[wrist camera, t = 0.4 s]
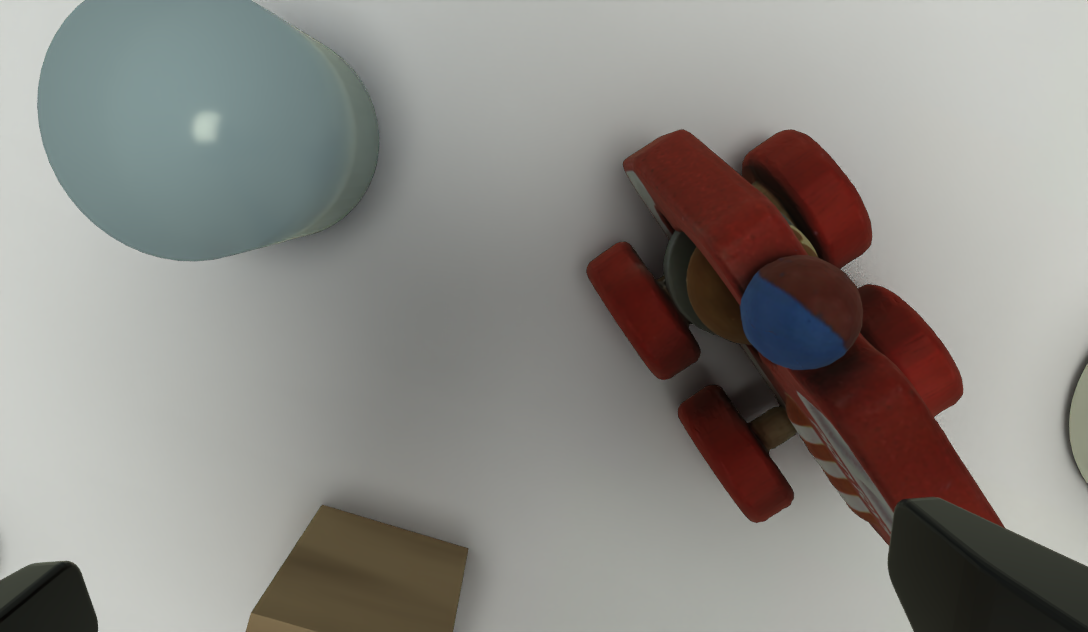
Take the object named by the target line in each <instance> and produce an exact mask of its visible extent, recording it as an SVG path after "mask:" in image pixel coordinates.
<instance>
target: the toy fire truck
mask: <svg viewBox="0 0 1088 632" xmlns="http://www.w3.org/2000/svg"><path fill="white" fill-rule="evenodd" d="M623 167H624V170H625V172H626V174H627V176H628V178H629V180H630V181H631V183H632V185H633V186H634V188H635V189H636V191H637V192H638V194H639V195H640V197H641V198H642V200H643V201H644V203H645V204H646V206H647V207H648V209H649V210H650V212H651V213H652V215H653V216H654V218H655V219H656V221H657V222H658V224H659V225H660V226H661V228H662V229H663V231H664V232H665V234H666V235H667V237H668V239H669V240H670V241H669V243H668V246H667V249H666V253H665V257H664V261H663V268H664V273H663V274H664V276H662V277H661V278H659V279H655V278H654V276H653V274H652V273H651V272H650V271H649V270H648V269H647V267H646V266H645V265H644V263H643V262H642V260H641V259H640V257H639V256H638V254H637V253H636V251H635V250H634V248H633V247H632V246H631V245H630V244H629V243H627V242H619V243H616V244H615V245H613V246H612V247H611V248H609V249H608V250H606V251H605V252H603V253H602V254H600V255H599V256H598V257H596V258H595V259H594V260H592V261H591V262H590V263H589V265H588V266H587V270H586V273H587V275H588V278H589V280H590V281H591V283H592V285H593V286H594V288H595V290H596V291H597V293H598V294H599V296H600V298H601V299H602V301H603V302H604V304H605V306H606V307H607V309H608V310H609V312H610V313H611V315H612V316H613V318H614V319H615V321H616V322H617V324H618V325H619V327H620V328H621V330H622V331H623V333H624V334H625V336H626V337H627V338H628V340H629V341H630V343H631V344H632V346H633V347H634V349H635V350H636V351H637V353H638V354H639V356H640V357H641V359H642V360H643V361H644V363H645V364H646V365H647V367H648V368H649V369H650V371H651V372H652V373H653V374H654V375H655V376H656V377H657V378H658V379H661V380H666V379H670V378H672V377H673V376H675V375H676V374H678V373H679V372H681V371H682V370H684V369H685V368H687V367H688V366H690V365H691V364H693V363H695V362H696V361H697V360H698V359H699V357H700V355H701V350H700V347H699V345H698V343H697V342H696V340H695V338H694V336H693V335H692V333H691V331H690V330H689V324H694V325H696V326H697V327H699V328H701V329H703V330H705V331H707V332H709V333H712V334H714V335H718V336H720V337H722V338H725V339H727V340H729V341H732V342H735V343H740V345H741V346H742V348H743V349H744V351H745V352H746V354H747V355H748V356H749V358H750V359H751V361H752V362H753V364H754V365H755V366H756V368H757V369H758V371H759V372H760V374H761V375H762V377H763V378H764V380H765V381H766V383H767V384H768V385H769V387H770V389H771V391H772V392H773V393H774V395H775V397H776V399H777V401H778V402H779V404H780V406H779V407H774V408H772V409H770V410H768V411H767V412H766V413H764V414H763V415H761V416H759V417H758V418H756V419H754V420H753V421H751V422H750V423H746V422H745V420H744V419H743V417H742V416H741V415H740V413H739V412H738V411H737V409H736V408H735V406H734V405H733V403H732V402H731V400H730V399H729V397H728V396H727V394H726V393H725V392H724V391H723V389H722V388H721V387H719V386H717V385H709V386H706V387H705V388H703V389H702V390H700V391H699V392H697V393H696V394H694V395H693V396H691V397H690V398H688V399H687V400H685V401H684V402H683V403H681V404H680V406H679V408H678V417H679V419H680V421H681V423H682V424H683V426H684V428H685V430H686V431H687V433H688V434H689V436H690V437H691V439H692V440H693V442H694V444H695V445H696V447H697V448H698V450H699V451H700V453H701V454H702V456H703V457H704V459H705V460H706V462H707V463H708V464H709V466H710V468H711V469H712V471H713V472H714V474H715V475H716V476H717V478H718V479H719V481H720V482H721V484H722V485H723V486H724V488H725V489H726V491H727V492H728V493H729V495H730V496H731V498H732V499H733V500H734V502H735V503H736V504H737V506H738V507H739V508H740V510H741V511H742V512H743V514H744V515H745V516H746V517H747V518H748V519H749V520H750V521H752V522H754V523H758V522H763V521H766V520H767V519H768V518H770V517H771V516H773V515H775V514H776V513H778V512H780V511H781V510H782V509H784V508H786V507H788V506H789V505H791V502H792V500H793V499H794V492H793V489H792V488H791V486H790V485H789V483H788V482H787V480H786V479H785V477H784V476H783V474H782V473H781V471H780V470H779V469H778V467H777V466H776V464H775V463H774V462H773V460H772V459H771V458H770V456H769V450H770V449H773V448H776V447H777V446H779V445H780V444H782V443H784V442H785V441H787V440H788V439H789V438H791V437H792V436H794V435H795V434H796V432H798V434H799V435H800V437H801V438H802V440H803V441H804V443H805V444H806V446H807V448H808V450H809V451H810V453H811V454H812V455H813V456H814V458H815V459H816V461H817V462H818V463H819V465H820V466H821V467H822V469H823V471H824V472H825V474H826V475H827V477H828V479H829V480H830V482H831V483H832V485H833V486H834V487H835V488H836V490H837V491H838V492H839V494H840V495H841V497H842V498H843V499H844V501H845V502H846V504H847V505H848V507H849V508H850V509H851V510H852V511H853V512H854V513H855V514H856V515H858V516H859V517H860V518H862V519H864V520H865V521H868V522H869V523H870V524H871V526H872V527H873V528H874V529H875V530H876V531H877V533H878V534H879V535H880V536H881V537H882V538H883V539H884V541H885V542H886V543H887V544H888V545H890V537H891V529H892V522H893V514H894V509H895V507H896V505H897V503H898V502H899V501H901V500H902V499H909V498H922V497H938V498H941V499H943V500H946V501H948V502H950V503H952V504H954V505H956V506H958V507H961V508H963V509H965V510H967V511H969V512H971V513H973V514H976V515H978V516H980V517H982V518H984V519H986V520H988V521H991V522H993V523H995V524H997V525H999V526H1001V527H1003V528H1005V527H1004V525H1003V524H1002V522H1001V521H1000V519H999V517H998V516H997V514H996V513H995V511H994V510H993V508H992V507H991V505H990V504H989V502H988V501H987V499H986V497H985V496H984V494H983V493H982V491H981V490H980V488H979V487H978V485H977V483H976V482H975V480H974V479H973V477H972V476H971V474H970V473H969V471H968V470H967V468H966V467H965V465H964V464H963V462H962V460H961V459H960V457H959V456H958V454H957V453H956V451H955V450H954V448H953V446H952V445H951V443H950V442H949V440H948V438H947V436H946V435H945V433H944V431H943V430H942V429H941V427H940V426H939V424H938V422H937V421H936V420H935V419H934V417H935V416H936V415H937V414H939V413H940V412H942V411H943V410H945V409H947V408H948V407H950V406H952V405H954V404H956V402H957V401H958V400H959V399H960V398H961V396H962V395H963V383H962V378H961V375H960V372H959V370H958V368H957V366H956V364H955V362H954V360H953V358H952V357H951V355H950V354H949V352H948V350H947V349H946V347H945V346H944V344H943V343H942V342H941V340H940V339H939V338H938V337H937V335H936V334H935V332H934V331H933V330H932V329H931V328H930V327H929V325H928V324H927V323H926V322H925V321H924V320H923V319H922V317H921V316H920V315H919V314H918V313H917V312H916V311H915V310H914V309H913V308H911V307H910V306H909V305H908V304H907V303H906V302H905V301H903V300H902V299H901V298H900V297H899V296H897V295H896V294H895V293H893V292H891V291H889V290H888V289H886V288H884V287H881V286H877V285H871V284H867V285H864V286H862V287H859V288H858V289H857V287H856V285H855V284H854V283H853V282H852V281H851V280H850V278H849V277H848V276H847V274H846V273H844V272H843V271H842V270H841V268H842V267H843V266H845V265H846V264H848V263H849V262H851V261H852V260H854V259H856V258H857V257H859V256H861V255H862V254H863V253H864V252H865V251H866V250H867V249H868V248H869V247H870V245H871V241H872V228H871V222H870V219H869V216H868V213H867V210H866V208H865V206H864V204H863V201H862V199H861V197H860V195H859V194H858V192H857V190H856V188H855V187H854V185H853V184H852V183H851V182H850V180H849V179H848V177H847V176H846V175H845V173H844V172H843V171H842V170H841V169H840V167H839V166H838V165H837V164H836V162H835V161H834V160H833V159H832V158H831V156H830V155H829V154H828V153H827V152H826V151H825V150H824V149H823V148H821V146H820V145H819V144H818V143H817V142H815V141H814V140H813V139H812V138H811V137H809V136H808V135H806V134H804V133H801V132H798V131H795V130H784V131H781V132H778V133H776V134H775V135H773V136H772V137H770V138H769V139H767V140H766V141H764V142H763V143H761V144H760V145H759V146H757V147H756V148H754V149H753V150H751V151H750V152H749V153H748V154H747V155H746V156H745V158H744V160H743V164H742V176H743V177H742V176H741V175H740V174H739V173H737V172H736V171H735V170H734V169H733V168H731V167H730V166H729V165H728V164H727V163H726V162H724V161H723V160H722V159H721V158H720V157H718V156H717V155H716V154H715V153H714V152H713V151H711V150H710V149H709V148H708V147H707V146H706V145H704V144H703V143H702V142H701V141H700V140H699V139H697V138H696V137H695V136H694V135H692V134H691V133H690V132H688V131H686V130H684V129H683V130H677V131H674V132H672V133H669V134H666V135H663V136H661V137H659V138H657V139H656V140H654V141H653V142H651V143H650V144H648V145H646V146H645V147H643V148H642V149H640V150H639V151H637V152H636V153H634V154H632V155H631V156H629V157H628V158H627V159H625V160H624V162H623Z"/></svg>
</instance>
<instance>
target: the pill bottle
mask: <svg viewBox="0 0 1088 632" xmlns="http://www.w3.org/2000/svg"><path fill="white" fill-rule="evenodd" d="M1069 434H1070V442H1071V448H1072V452H1073V455H1074V458H1075V461H1076V463H1077V466H1078V468H1079V470H1080V472H1081V474H1082V476H1083V477H1084V479H1085V481H1086V482H1087V483H1088V364H1087V366H1086V367H1085V369H1084V371H1083V373H1082V375H1081V377H1080V379H1079V382H1078V384H1077V387H1076V389H1075V392H1074V396H1073V400H1072V404H1071V409H1070V418H1069Z"/></svg>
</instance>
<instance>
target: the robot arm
mask: <svg viewBox="0 0 1088 632" xmlns="http://www.w3.org/2000/svg"><path fill="white" fill-rule="evenodd" d="M888 571H889V576H890V579H891V582H892V585H893V587H894V589H895V591H896V593H897V596H898V598H899V600H900V602H901V604H902V607H903V609H904V611H905V613H906V615H907V618H908V620H909V622H910V624H911V626H912V629H913V631H914V632H1088V567H1087V566H1085V565H1083V564H1081V563H1079V562H1077V561H1074V560H1072V559H1070V558H1068V557H1066V556H1064V555H1061V554H1059V553H1057V552H1055V551H1053V550H1051V549H1049V548H1046V547H1044V546H1042V545H1040V544H1038V543H1036V542H1034V541H1031V540H1029V539H1027V538H1025V537H1023V536H1021V535H1019V534H1016V533H1014V532H1012V531H1010V530H1008V529H1006V528H1003V527H1001V526H999V525H997V524H995V523H993V522H991V521H988V520H986V519H984V518H982V517H980V516H978V515H976V514H973V513H971V512H969V511H967V510H965V509H963V508H961V507H958V506H956V505H954V504H952V503H950V502H948V501H946V500H943V499H941V498H938V497H922V498H909V499H902V500H901V501H899V502H898V503H897V505H896V507H895V509H894V514H893V522H892V529H891V537H890V545H889V553H888ZM0 632H98V621H97V616H96V614H95V611H94V608H93V605H92V602H91V599H90V596H89V593H88V591H87V588H86V585H85V582H84V579H83V576H82V573H81V571H80V569H79V568H78V566H77V565H76V564H74V563H73V562H70V561H56V562H42V563H34V564H30V565H28V566H26V567H24V568H22V569H20V570H18V571H16V572H15V573H13V574H11V575H9V576H7V577H6V578H4V579H2V580H0Z"/></svg>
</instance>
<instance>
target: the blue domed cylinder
mask: <svg viewBox="0 0 1088 632" xmlns="http://www.w3.org/2000/svg"><path fill="white" fill-rule="evenodd" d="M37 109H38V120H39V128H40V132H41V137H42V142H43V146H44V148H45V151H46V154H47V157H48V160H49V163H50V165H51V167H52V169H53V171H54V173H55V175H56V177H57V179H58V181H59V182H60V184H61V185H62V187H63V189H64V190H65V192H66V193H67V195H68V196H69V197H70V199H71V200H72V201H73V202H74V204H75V205H76V206H77V207H78V208H79V210H80V211H81V212H82V213H83V214H84V215H85V216H86V217H87V218H89V219H90V220H91V221H92V222H93V223H94V224H95V225H96V226H97V227H99V228H100V229H101V230H103V231H104V232H105V233H107V234H108V235H109V236H111V237H113V238H114V239H116V240H118V241H120V242H121V243H123V244H125V245H127V246H129V247H131V248H134V249H136V250H138V251H140V252H143V253H146V254H149V255H153V256H156V257H160V258H165V259H171V260H177V261H204V260H214V259H218V258H222V257H227V256H231V255H235V254H239V253H243V252H246V251H250V250H254V249H258V248H262V247H265V246H269V245H273V244H277V243H281V242H285V241H288V240H292V239H296V238H300V237H304V236H308V235H311V234H314V233H317V232H320V231H322V230H325V229H327V228H328V227H330V226H332V225H334V224H336V223H337V222H338V221H340V220H341V219H342V218H344V217H345V216H346V215H347V214H348V213H349V212H350V211H351V210H352V209H353V208H354V207H355V206H356V205H357V204H358V202H359V201H360V200H361V198H362V197H363V195H364V194H365V192H366V190H367V188H368V187H369V185H370V182H371V180H372V177H373V175H374V172H375V168H376V164H377V159H378V151H379V131H378V123H377V118H376V114H375V110H374V107H373V104H372V102H371V99H370V97H369V94H368V92H367V90H366V89H365V87H364V85H363V83H362V81H361V80H360V79H359V77H358V76H357V75H356V73H355V72H354V70H353V69H352V68H351V67H350V66H349V65H348V64H347V63H346V62H345V61H344V60H343V59H342V58H341V57H340V56H339V55H337V54H336V53H335V52H334V51H333V50H331V49H330V48H328V47H326V46H325V45H323V44H322V43H320V42H318V41H317V40H315V39H314V38H312V37H310V36H309V35H307V34H305V33H304V32H302V31H300V30H299V29H297V28H296V27H294V26H292V25H291V24H289V23H287V22H286V21H284V20H282V19H281V18H279V17H278V16H276V15H274V14H273V13H271V12H269V11H268V10H266V9H264V8H263V7H261V6H260V5H258V4H256V3H255V2H253V1H251V0H85V1H83V2H82V3H81V4H80V5H79V6H77V7H76V8H75V10H74V11H73V12H72V13H71V14H70V15H69V16H68V17H67V18H66V19H65V21H64V22H63V24H62V25H61V27H60V28H59V30H58V31H57V33H56V34H55V36H54V38H53V40H52V42H51V44H50V46H49V48H48V50H47V53H46V56H45V59H44V62H43V66H42V69H41V74H40V80H39V86H38V103H37Z"/></svg>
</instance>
